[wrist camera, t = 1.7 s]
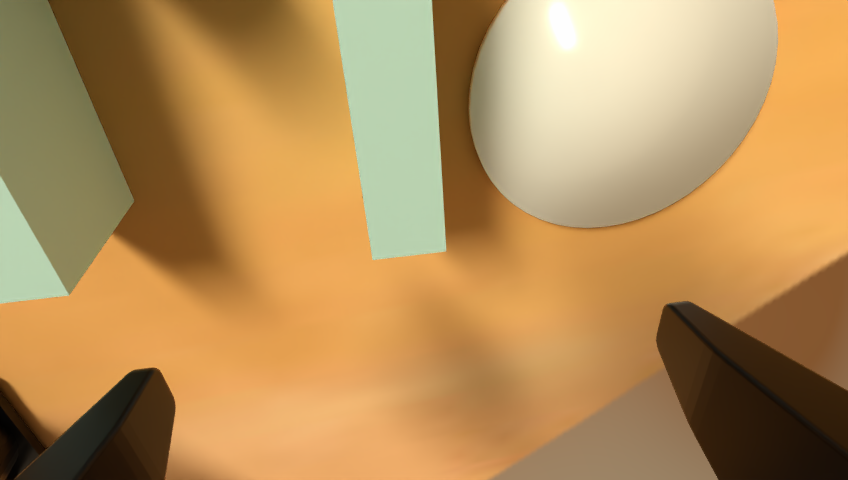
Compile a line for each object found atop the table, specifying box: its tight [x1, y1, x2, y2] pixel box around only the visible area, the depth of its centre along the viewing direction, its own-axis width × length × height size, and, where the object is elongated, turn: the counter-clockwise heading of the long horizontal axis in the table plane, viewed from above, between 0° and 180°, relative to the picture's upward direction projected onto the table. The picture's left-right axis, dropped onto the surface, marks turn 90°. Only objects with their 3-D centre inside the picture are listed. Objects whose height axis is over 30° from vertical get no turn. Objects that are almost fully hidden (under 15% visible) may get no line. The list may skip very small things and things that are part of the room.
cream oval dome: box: [468, 0, 778, 228], centre depth 18 cm, size 10×10×1 cm
